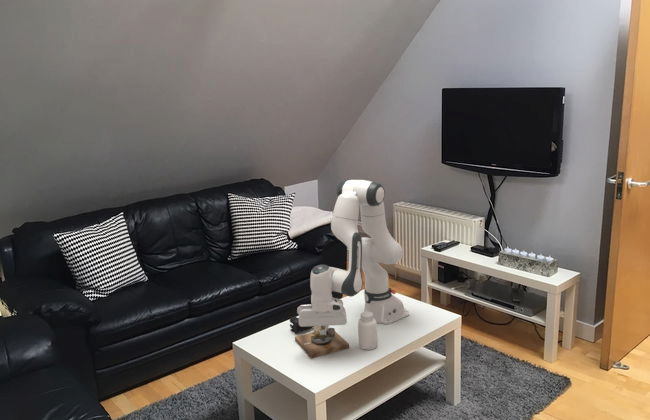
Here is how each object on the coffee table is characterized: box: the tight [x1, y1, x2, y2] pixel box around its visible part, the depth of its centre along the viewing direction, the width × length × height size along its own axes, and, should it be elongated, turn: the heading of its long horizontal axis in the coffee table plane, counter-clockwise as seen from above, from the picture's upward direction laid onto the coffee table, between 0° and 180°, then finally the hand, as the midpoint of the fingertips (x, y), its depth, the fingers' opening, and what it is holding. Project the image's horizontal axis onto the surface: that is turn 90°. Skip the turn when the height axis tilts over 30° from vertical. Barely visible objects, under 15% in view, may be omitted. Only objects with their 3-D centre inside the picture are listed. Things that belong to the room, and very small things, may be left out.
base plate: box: [294, 330, 350, 359], centre depth 247 cm, size 18×18×2 cm
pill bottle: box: [357, 311, 378, 351], centre depth 242 cm, size 8×8×15 cm
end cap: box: [289, 316, 314, 335], centre depth 260 cm, size 10×7×7 cm
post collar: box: [311, 333, 332, 345], centre depth 246 cm, size 9×9×2 cm
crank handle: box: [311, 326, 336, 339], centre depth 241 cm, size 16×10×8 cm, turn 24°
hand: (323, 334), depth 237 cm, fingers closed
